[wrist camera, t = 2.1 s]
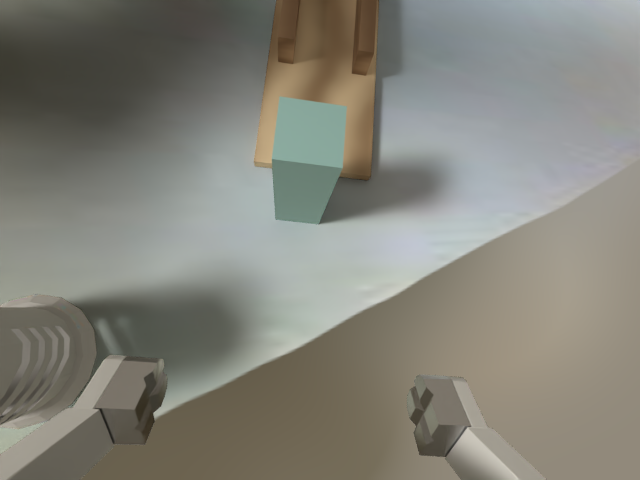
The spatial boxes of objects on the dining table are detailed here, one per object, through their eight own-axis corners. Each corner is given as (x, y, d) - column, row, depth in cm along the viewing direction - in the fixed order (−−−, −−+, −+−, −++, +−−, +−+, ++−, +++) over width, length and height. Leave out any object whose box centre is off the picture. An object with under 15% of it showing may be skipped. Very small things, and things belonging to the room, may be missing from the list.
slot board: (254, 166, 30) (245, 115, 22) (281, -31, 36) (282, -126, 28) (367, 180, 31) (396, 137, 23) (377, -13, 37) (403, -100, 29)
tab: (275, 219, 29) (271, 159, 18) (280, 179, 30) (279, 96, 19) (318, 224, 30) (342, 168, 18) (321, 184, 31) (346, 106, 19)
